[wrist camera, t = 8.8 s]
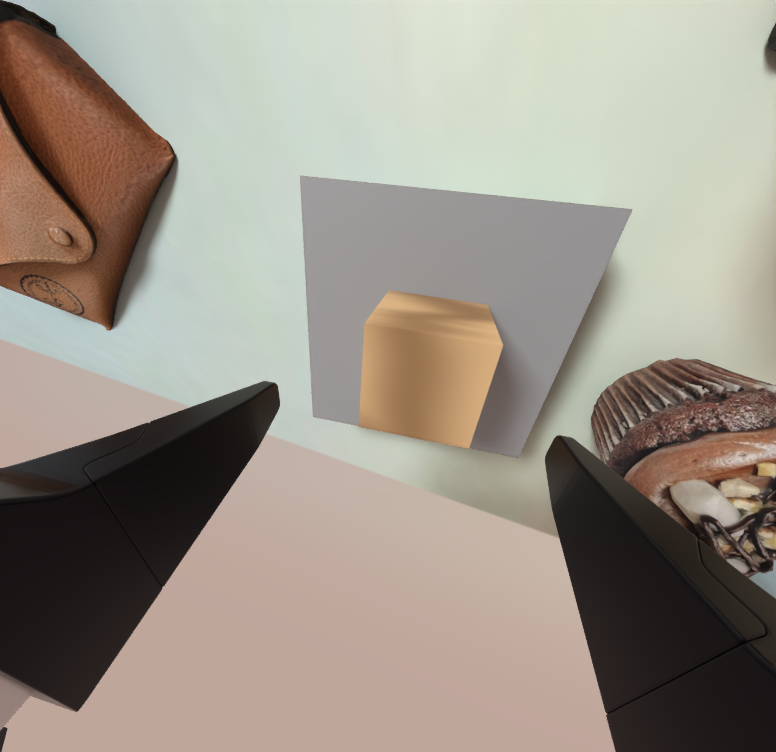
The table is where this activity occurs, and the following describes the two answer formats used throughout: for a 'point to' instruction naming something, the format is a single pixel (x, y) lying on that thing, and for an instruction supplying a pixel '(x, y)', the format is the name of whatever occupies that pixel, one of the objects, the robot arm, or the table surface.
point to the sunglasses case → (68, 172)
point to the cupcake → (698, 452)
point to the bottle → (766, 580)
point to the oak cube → (427, 367)
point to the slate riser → (451, 284)
